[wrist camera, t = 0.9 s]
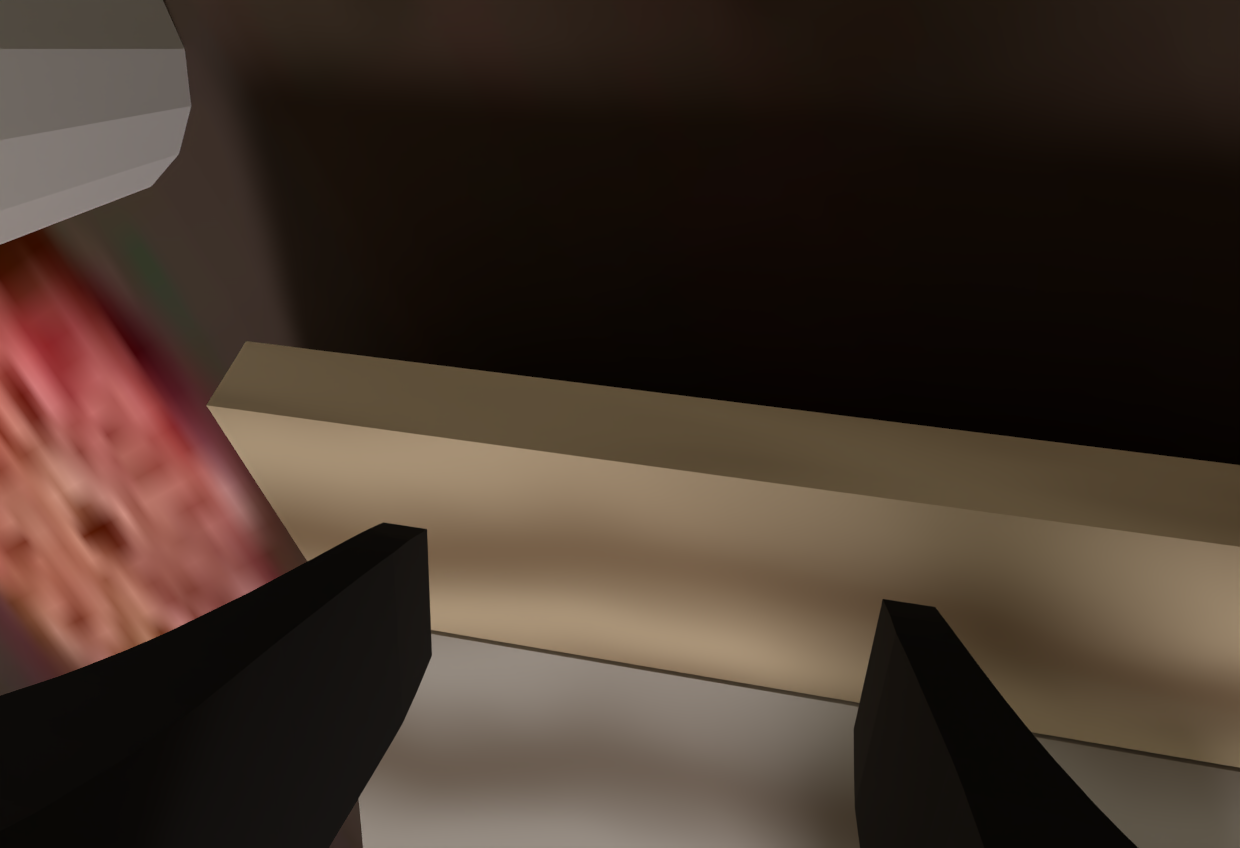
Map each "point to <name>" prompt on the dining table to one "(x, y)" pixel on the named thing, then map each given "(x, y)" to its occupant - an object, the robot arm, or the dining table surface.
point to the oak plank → (768, 536)
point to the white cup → (85, 105)
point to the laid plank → (687, 763)
